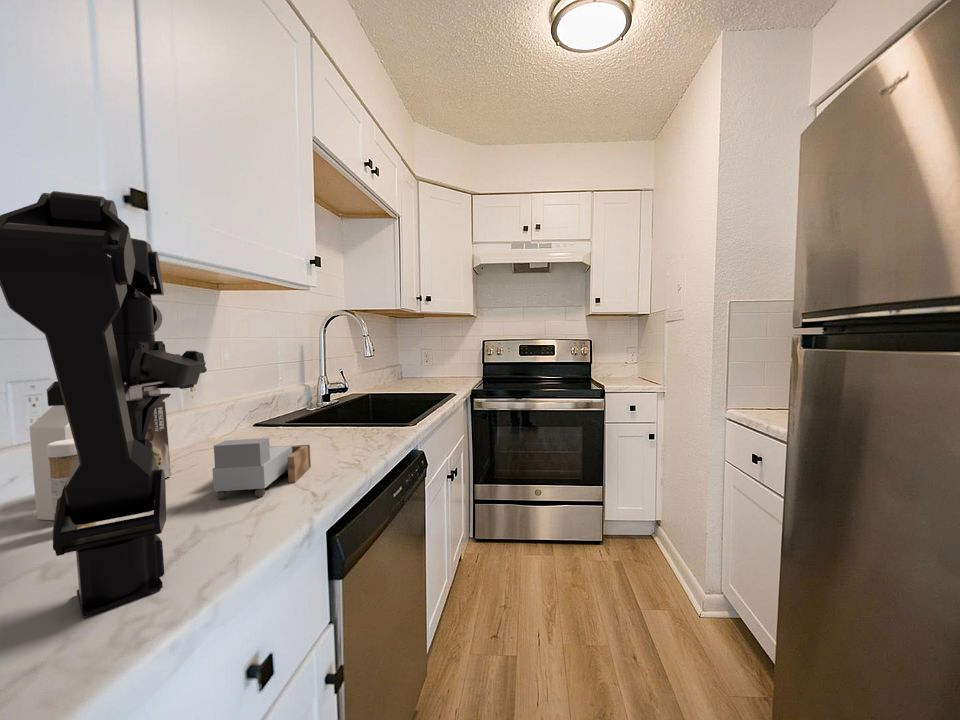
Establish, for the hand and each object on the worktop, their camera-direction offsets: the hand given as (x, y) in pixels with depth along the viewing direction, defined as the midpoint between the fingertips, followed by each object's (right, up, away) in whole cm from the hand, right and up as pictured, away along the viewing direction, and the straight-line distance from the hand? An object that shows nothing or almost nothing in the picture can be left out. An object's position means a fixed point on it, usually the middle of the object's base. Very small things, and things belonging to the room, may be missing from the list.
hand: (136, 447), depth 57 cm
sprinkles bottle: (-13, -14, +5) cm, 19 cm away
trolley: (+5, -12, +22) cm, 26 cm away
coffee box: (-20, -13, +25) cm, 35 cm away
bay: (+4, -12, +27) cm, 29 cm away
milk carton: (-19, -13, +12) cm, 26 cm away
